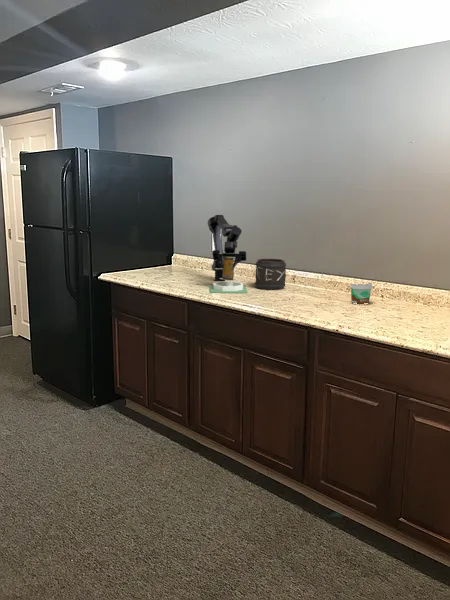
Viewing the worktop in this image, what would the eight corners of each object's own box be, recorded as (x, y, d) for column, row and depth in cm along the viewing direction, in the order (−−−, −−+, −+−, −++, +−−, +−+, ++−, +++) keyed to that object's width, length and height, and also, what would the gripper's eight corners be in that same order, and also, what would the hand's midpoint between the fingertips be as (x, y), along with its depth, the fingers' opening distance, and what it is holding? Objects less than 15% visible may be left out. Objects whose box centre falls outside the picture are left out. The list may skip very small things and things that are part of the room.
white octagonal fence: (213, 285, 295) (213, 281, 295) (241, 286, 296) (241, 281, 295) (213, 290, 280) (213, 286, 279) (243, 291, 280) (243, 286, 280)
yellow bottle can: (228, 277, 292) (229, 256, 290) (238, 280, 286) (239, 258, 284) (218, 278, 288) (219, 257, 285) (228, 281, 281) (229, 259, 279)
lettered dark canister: (249, 289, 290) (250, 261, 287) (259, 284, 306) (260, 257, 303) (280, 291, 283) (281, 263, 280) (289, 286, 300) (290, 259, 296)
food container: (357, 306, 250) (358, 285, 248) (348, 303, 255) (350, 283, 253) (376, 304, 255) (378, 284, 253) (368, 301, 261) (369, 282, 259)
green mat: (209, 285, 298) (209, 284, 298) (244, 286, 299) (244, 285, 299) (210, 292, 277) (210, 291, 277) (247, 293, 278) (247, 292, 277)
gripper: (213, 235, 287) (209, 258, 279) (246, 236, 285) (244, 259, 276) (215, 248, 296) (211, 270, 288) (247, 249, 294) (245, 271, 286)
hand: (227, 267), depth 284 cm, fingers closed on yellow bottle can, 6 cm apart
